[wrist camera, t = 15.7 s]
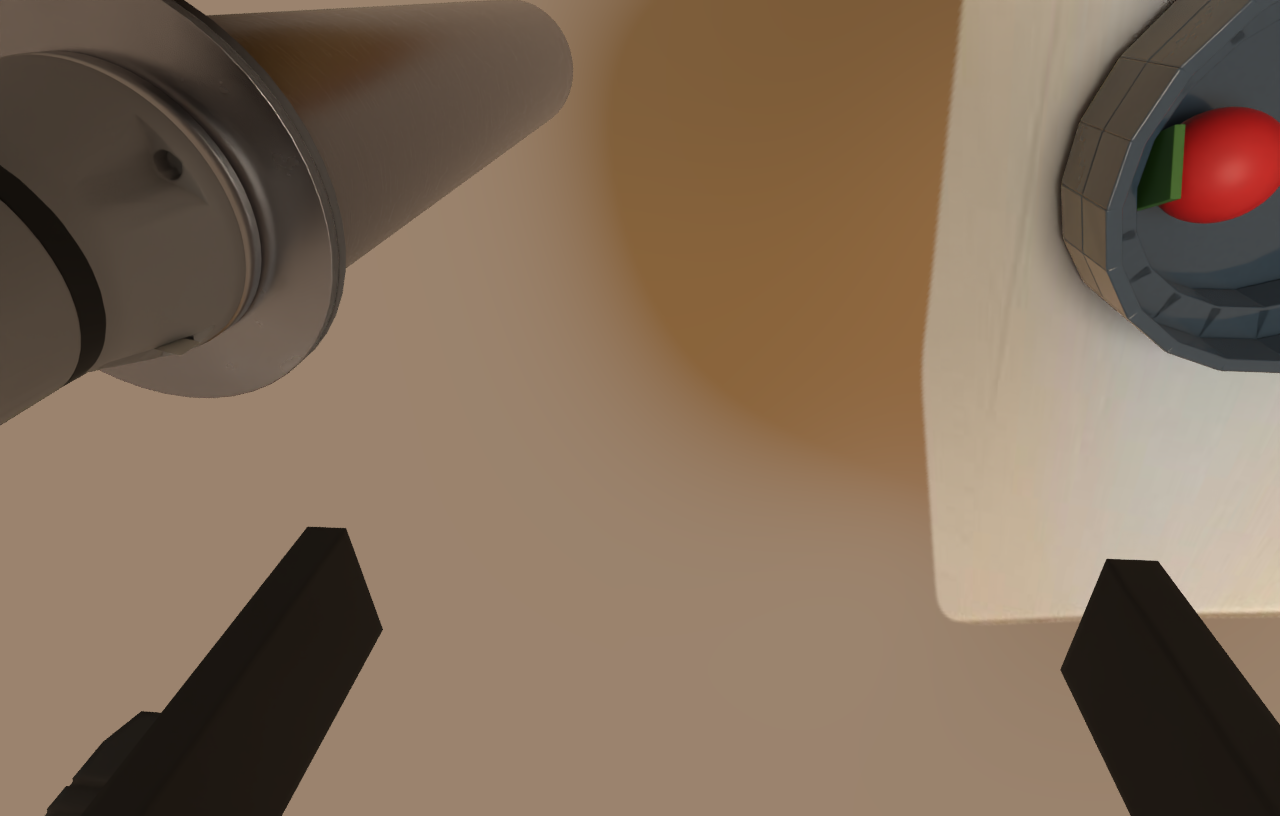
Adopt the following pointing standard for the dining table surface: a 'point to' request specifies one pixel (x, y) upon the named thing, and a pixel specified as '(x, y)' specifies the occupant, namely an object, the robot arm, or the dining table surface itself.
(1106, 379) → the dining table surface
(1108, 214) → the bowl
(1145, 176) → the strawberry
